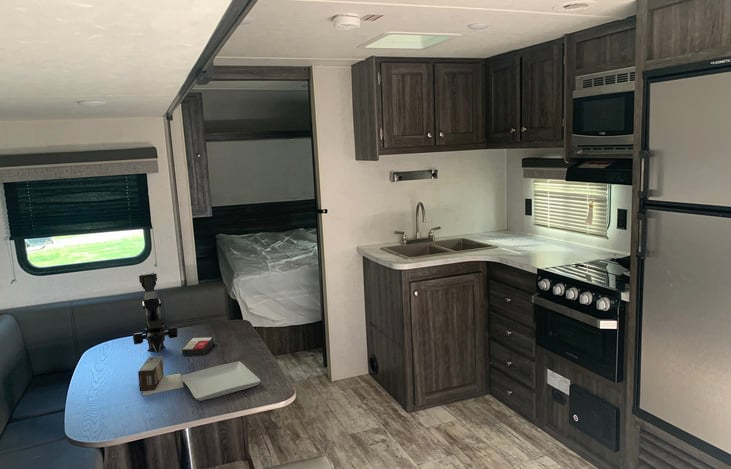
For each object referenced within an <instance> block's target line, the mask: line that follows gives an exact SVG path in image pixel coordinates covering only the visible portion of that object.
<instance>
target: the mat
mask: <svg viewBox="0 0 731 469" xmlns="http://www.w3.org/2000/svg"><path fill="white" fill-rule="evenodd" d="M179 376H182V375H181V373H180V372H179V373H175V374H169V375H163V377H162V379H161V381H160V382H159V384H158V386H157V387H156V389H155V390H150V391H142V396H143V397H145V396H149V395H154V394H159V393H163V392H167V391H172V390H177V389H183V388H184V387H185V386H184V382H183V381H182V380H181V379H180V377H179Z"/></svg>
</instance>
